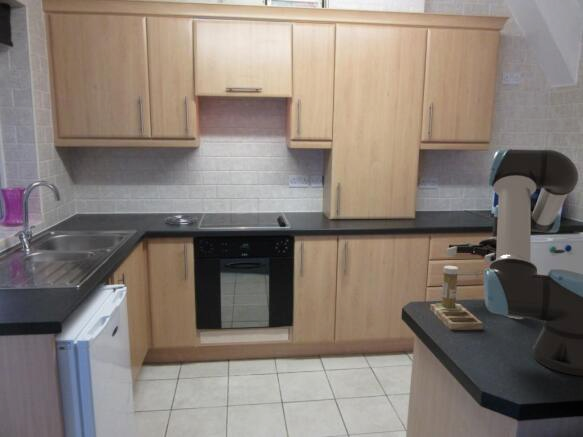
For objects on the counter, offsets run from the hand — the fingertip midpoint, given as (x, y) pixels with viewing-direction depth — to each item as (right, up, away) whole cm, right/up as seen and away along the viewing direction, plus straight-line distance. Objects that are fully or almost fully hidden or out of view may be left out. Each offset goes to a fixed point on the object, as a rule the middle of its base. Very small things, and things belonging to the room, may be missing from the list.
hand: (465, 256), depth 151 cm
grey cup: (+14, -19, -6) cm, 24 cm away
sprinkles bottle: (-7, -16, -4) cm, 19 cm away
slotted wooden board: (-7, -19, -9) cm, 23 cm away
